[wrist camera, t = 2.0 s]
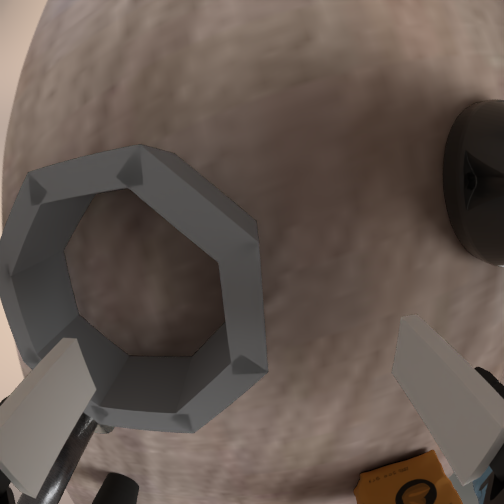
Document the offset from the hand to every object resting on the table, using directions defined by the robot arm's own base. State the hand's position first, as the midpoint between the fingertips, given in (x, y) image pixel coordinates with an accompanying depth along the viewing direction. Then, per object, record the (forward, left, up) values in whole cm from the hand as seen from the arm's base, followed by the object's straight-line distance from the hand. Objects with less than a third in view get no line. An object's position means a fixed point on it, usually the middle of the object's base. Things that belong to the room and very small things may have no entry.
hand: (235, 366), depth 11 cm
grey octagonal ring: (+6, -5, -12) cm, 14 cm away
